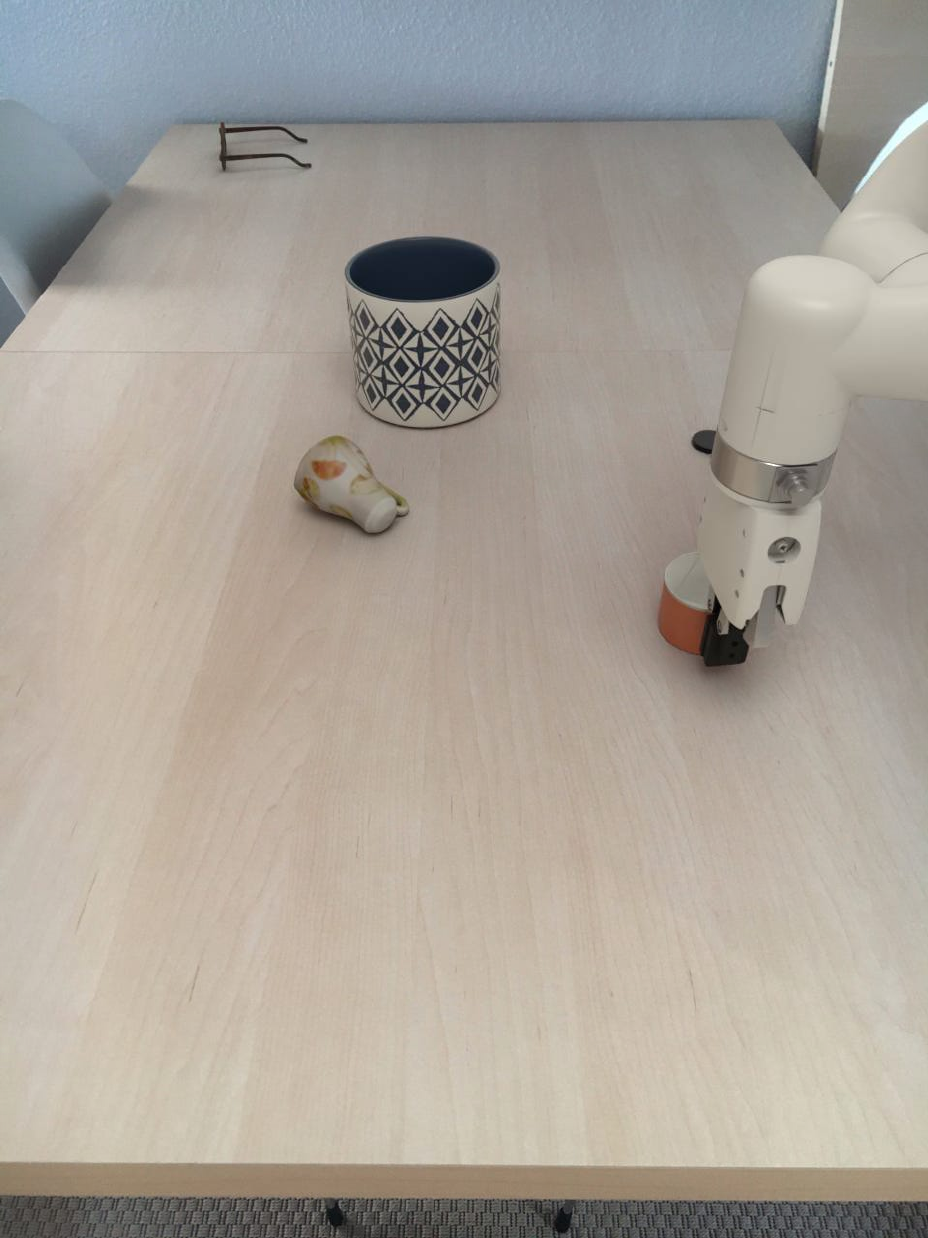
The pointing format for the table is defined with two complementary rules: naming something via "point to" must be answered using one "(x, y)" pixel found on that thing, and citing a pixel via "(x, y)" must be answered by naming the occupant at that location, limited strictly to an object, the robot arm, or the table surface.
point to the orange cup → (684, 603)
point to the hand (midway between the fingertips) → (721, 657)
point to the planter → (425, 329)
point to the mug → (347, 485)
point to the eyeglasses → (224, 157)
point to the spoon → (704, 440)
